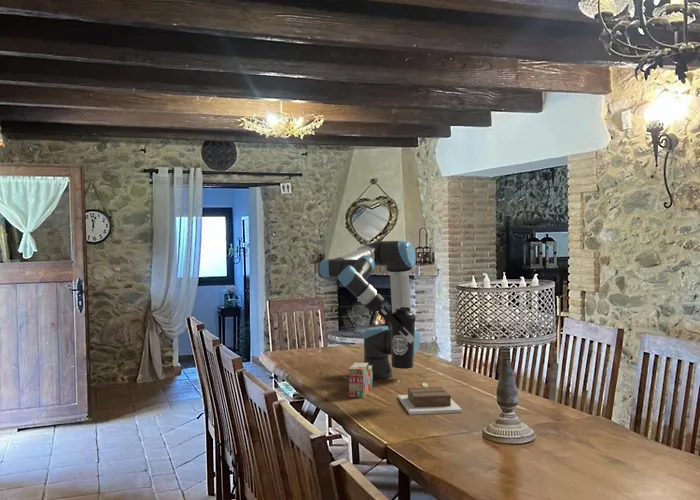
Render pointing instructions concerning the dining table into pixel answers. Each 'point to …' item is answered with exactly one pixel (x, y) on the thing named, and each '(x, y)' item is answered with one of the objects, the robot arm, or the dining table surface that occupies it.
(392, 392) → the dining table surface
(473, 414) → the dining table surface
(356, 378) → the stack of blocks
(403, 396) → the base board
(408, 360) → the water bottle
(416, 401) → the plinth
